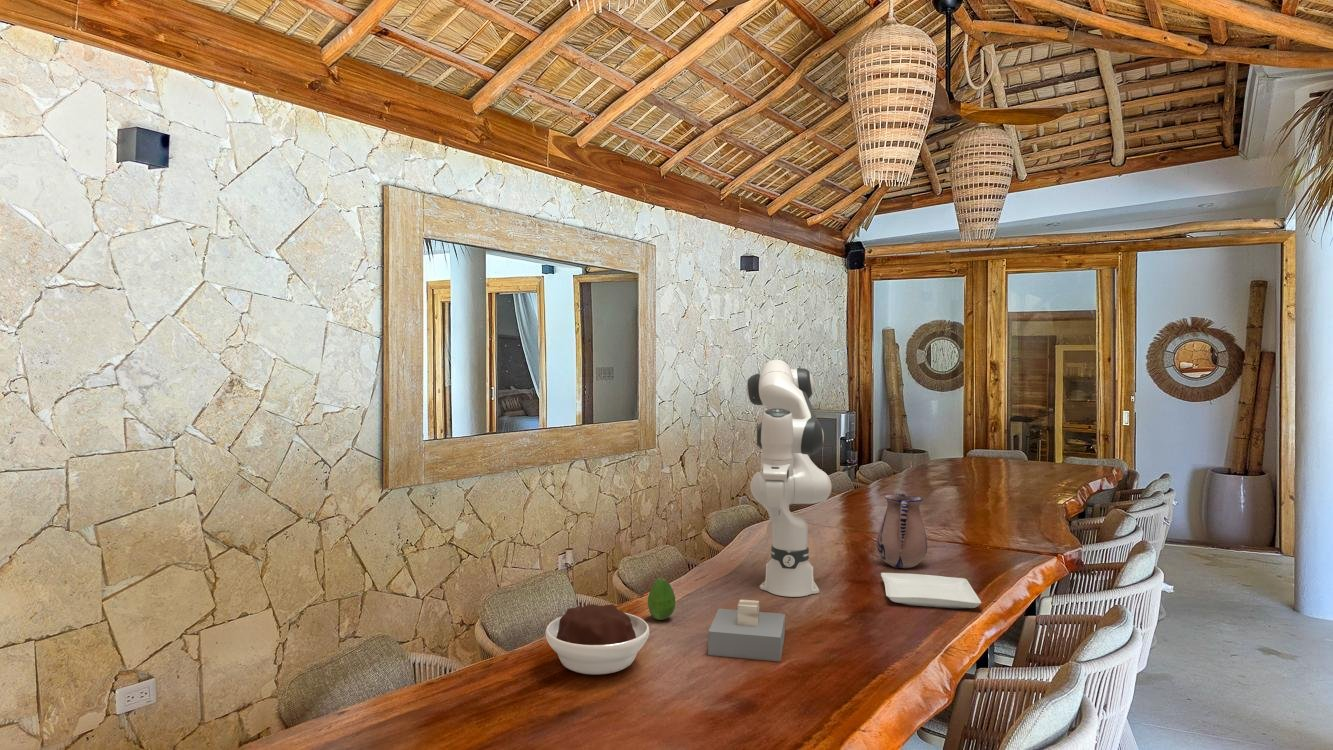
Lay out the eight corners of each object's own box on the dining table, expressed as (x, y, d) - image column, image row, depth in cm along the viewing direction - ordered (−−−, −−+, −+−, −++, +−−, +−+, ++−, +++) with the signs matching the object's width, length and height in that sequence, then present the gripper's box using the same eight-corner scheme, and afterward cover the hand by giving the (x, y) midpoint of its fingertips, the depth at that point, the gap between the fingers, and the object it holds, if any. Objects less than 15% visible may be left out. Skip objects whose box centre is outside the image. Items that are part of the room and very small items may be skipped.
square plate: (982, 614, 232) (982, 601, 232) (886, 607, 238) (886, 595, 238) (966, 587, 259) (966, 576, 259) (880, 582, 264) (880, 570, 264)
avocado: (651, 625, 219) (651, 582, 219) (644, 615, 227) (645, 574, 227) (678, 622, 222) (679, 580, 221) (671, 613, 229) (671, 572, 229)
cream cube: (739, 618, 208) (740, 599, 208) (758, 619, 207) (759, 600, 207) (737, 624, 203) (737, 605, 203) (756, 626, 202) (757, 606, 202)
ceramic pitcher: (920, 559, 292) (922, 492, 292) (934, 575, 271) (936, 503, 271) (872, 558, 294) (873, 491, 293) (882, 573, 273) (883, 502, 272)
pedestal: (718, 630, 216) (718, 608, 216) (784, 635, 212) (785, 613, 212) (708, 654, 198) (708, 631, 198) (780, 661, 194) (780, 637, 194)
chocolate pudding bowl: (596, 639, 208) (597, 582, 208) (670, 663, 192) (670, 602, 192) (523, 668, 189) (523, 605, 188) (598, 698, 173) (598, 630, 173)
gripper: (768, 462, 225) (767, 511, 225) (761, 474, 205) (761, 526, 205) (790, 463, 224) (789, 512, 224) (786, 475, 204) (785, 528, 204)
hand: (775, 519), depth 215 cm, fingers open, 8 cm apart
